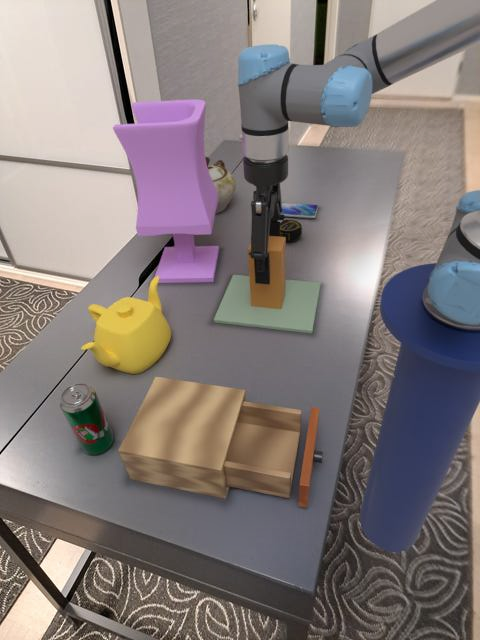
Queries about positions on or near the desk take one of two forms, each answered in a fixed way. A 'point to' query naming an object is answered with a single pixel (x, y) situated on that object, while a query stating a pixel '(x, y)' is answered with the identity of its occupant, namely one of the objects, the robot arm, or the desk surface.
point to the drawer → (271, 451)
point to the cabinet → (183, 436)
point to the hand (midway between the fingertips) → (268, 265)
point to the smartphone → (299, 210)
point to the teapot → (130, 332)
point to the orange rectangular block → (276, 289)
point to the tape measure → (290, 230)
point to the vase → (173, 184)
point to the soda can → (86, 418)
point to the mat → (290, 318)
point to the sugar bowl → (222, 183)
